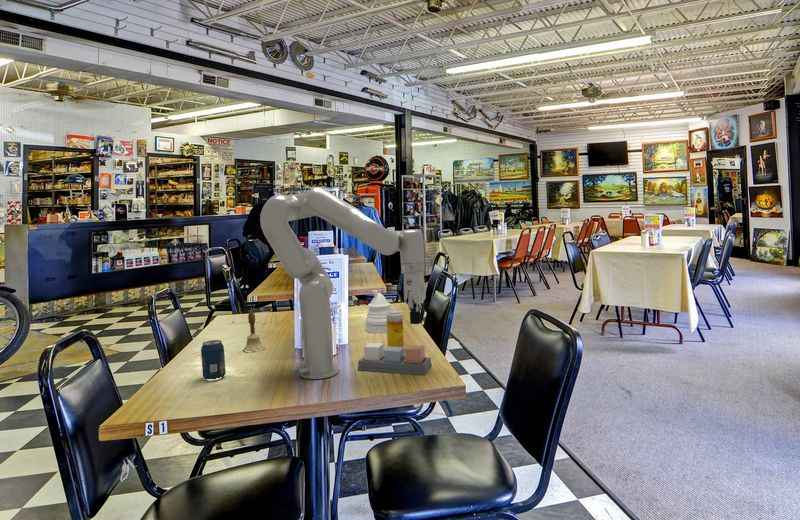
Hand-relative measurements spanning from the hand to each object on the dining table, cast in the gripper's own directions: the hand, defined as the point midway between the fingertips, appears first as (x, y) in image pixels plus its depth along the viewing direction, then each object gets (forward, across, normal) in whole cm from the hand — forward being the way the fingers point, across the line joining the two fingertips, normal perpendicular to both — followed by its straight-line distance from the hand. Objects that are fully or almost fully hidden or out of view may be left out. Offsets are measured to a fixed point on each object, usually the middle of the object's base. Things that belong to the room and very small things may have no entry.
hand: (415, 323), depth 152 cm
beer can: (+16, +19, +14) cm, 29 cm away
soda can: (+14, -22, +63) cm, 68 cm away
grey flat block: (+15, 0, +8) cm, 17 cm away
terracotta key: (+12, 0, +1) cm, 13 cm away
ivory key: (+12, 0, +15) cm, 19 cm away
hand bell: (+14, +10, +70) cm, 72 cm away
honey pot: (+15, +49, +31) cm, 59 cm away
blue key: (+13, 0, +8) cm, 15 cm away
